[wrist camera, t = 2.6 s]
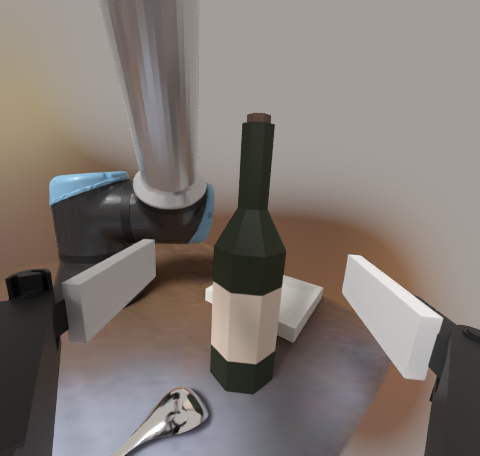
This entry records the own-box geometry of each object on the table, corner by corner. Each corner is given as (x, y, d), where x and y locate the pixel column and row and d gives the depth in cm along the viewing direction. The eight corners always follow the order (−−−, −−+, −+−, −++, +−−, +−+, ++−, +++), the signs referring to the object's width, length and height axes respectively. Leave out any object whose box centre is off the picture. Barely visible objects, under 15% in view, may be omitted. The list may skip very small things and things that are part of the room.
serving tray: (205, 300, 43) (205, 288, 42) (249, 273, 56) (249, 264, 55) (293, 343, 33) (295, 328, 33) (321, 298, 46) (323, 287, 46)
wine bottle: (259, 409, 24) (289, 98, 17) (196, 375, 27) (199, 107, 20) (281, 355, 31) (309, 123, 24) (229, 334, 34) (240, 127, 27)
